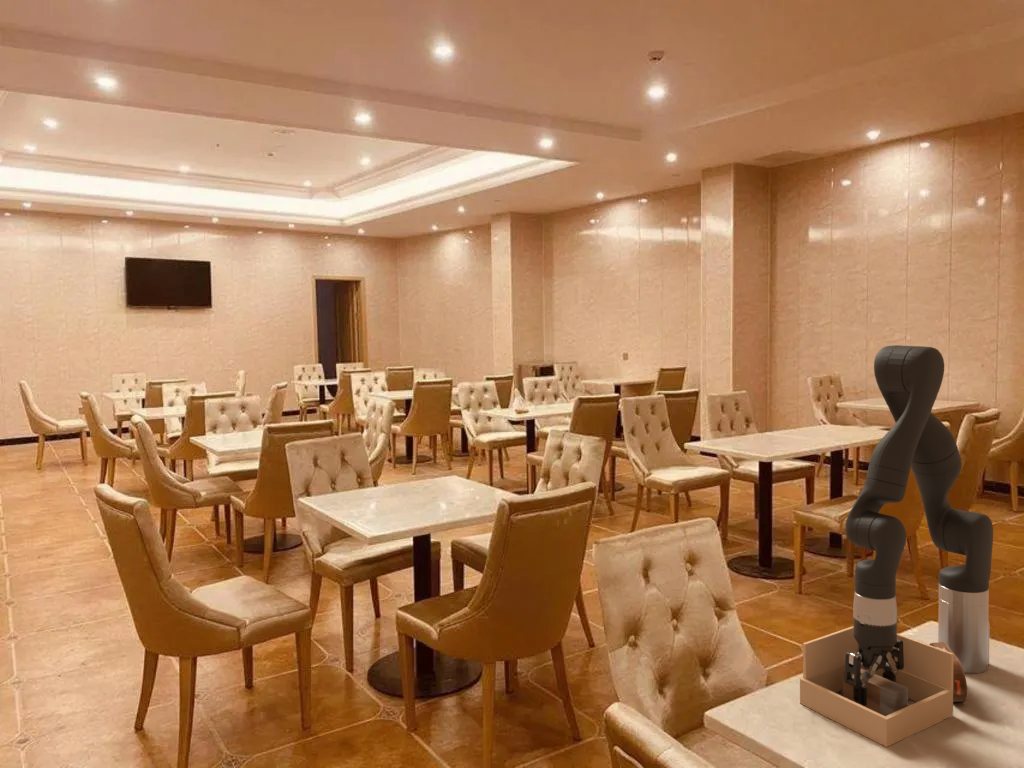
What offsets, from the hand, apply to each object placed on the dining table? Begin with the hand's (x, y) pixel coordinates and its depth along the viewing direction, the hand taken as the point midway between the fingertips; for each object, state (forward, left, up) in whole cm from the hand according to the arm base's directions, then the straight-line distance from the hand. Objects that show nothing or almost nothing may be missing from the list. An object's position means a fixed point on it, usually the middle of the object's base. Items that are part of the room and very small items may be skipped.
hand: (874, 698), depth 149 cm
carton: (0, 0, -2) cm, 2 cm away
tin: (-18, +3, -3) cm, 18 cm away
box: (0, 0, -2) cm, 2 cm away
